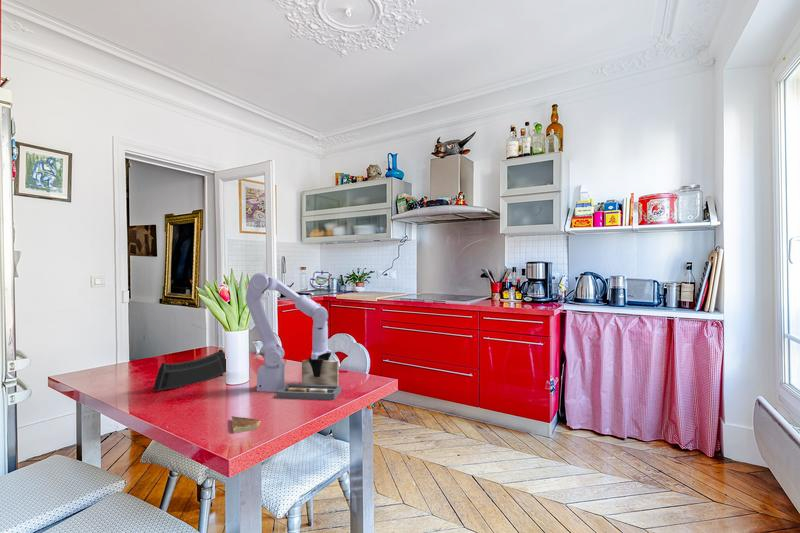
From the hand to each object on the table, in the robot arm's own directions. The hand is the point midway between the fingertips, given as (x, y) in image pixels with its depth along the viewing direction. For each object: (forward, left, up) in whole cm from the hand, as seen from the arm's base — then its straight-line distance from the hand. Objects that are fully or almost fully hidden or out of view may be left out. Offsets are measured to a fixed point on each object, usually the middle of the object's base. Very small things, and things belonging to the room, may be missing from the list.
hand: (320, 374), depth 147 cm
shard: (-11, -39, -6) cm, 41 cm away
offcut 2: (+4, -13, -4) cm, 14 cm away
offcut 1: (-4, -13, -4) cm, 14 cm away
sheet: (0, 0, -5) cm, 5 cm away
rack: (0, -11, -5) cm, 12 cm away
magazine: (-51, 0, -5) cm, 52 cm away
